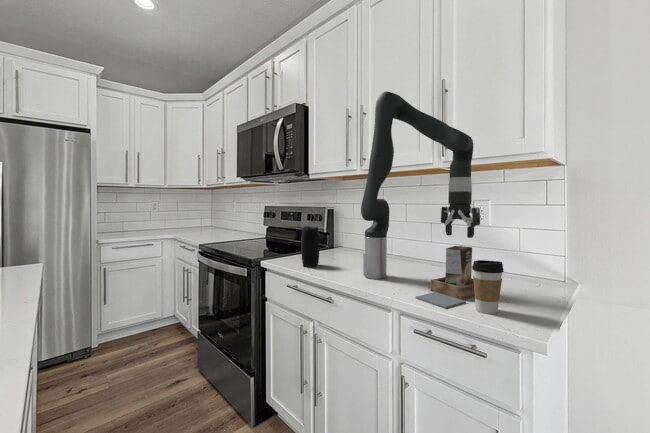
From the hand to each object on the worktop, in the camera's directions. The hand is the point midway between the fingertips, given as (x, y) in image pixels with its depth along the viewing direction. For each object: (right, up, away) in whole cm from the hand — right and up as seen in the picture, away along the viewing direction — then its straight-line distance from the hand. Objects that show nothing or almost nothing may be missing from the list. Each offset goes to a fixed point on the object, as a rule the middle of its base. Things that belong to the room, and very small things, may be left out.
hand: (459, 236), depth 115 cm
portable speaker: (-55, -18, +46) cm, 74 cm away
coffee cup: (+1, -21, -18) cm, 28 cm away
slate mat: (-10, -21, -8) cm, 24 cm away
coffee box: (0, -20, +1) cm, 20 cm away
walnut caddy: (0, -20, +1) cm, 20 cm away
